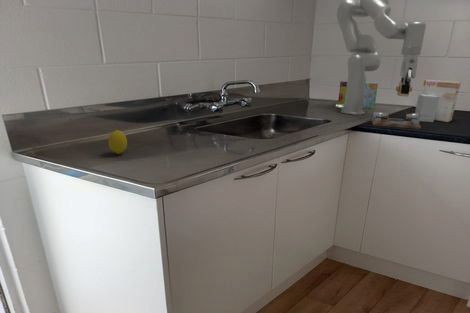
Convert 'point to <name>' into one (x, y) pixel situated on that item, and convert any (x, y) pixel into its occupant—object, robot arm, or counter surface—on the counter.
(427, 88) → the coffeecake box
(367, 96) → the snack box
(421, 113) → the supplement box
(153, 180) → the counter surface
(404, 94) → the coupler
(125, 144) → the lemon
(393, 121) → the shaft stubs
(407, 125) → the bench board
